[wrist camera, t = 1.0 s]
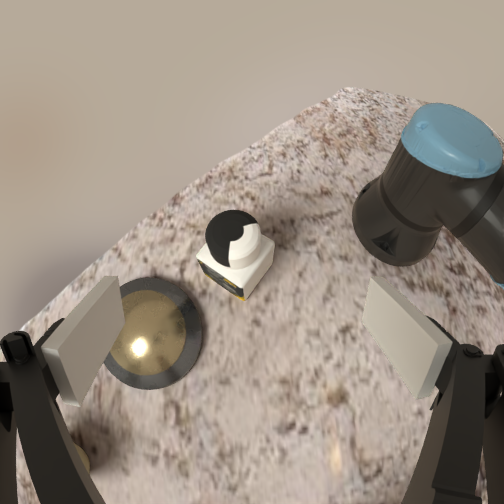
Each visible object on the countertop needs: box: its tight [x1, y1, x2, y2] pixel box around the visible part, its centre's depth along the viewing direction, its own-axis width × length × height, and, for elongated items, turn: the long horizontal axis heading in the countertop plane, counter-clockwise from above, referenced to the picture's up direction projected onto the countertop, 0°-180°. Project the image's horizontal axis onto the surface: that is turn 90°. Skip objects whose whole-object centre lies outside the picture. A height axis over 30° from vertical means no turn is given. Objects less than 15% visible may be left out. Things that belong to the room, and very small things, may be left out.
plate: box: [104, 278, 202, 390], centre depth 39 cm, size 16×16×2 cm
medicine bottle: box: [196, 210, 275, 301], centre depth 38 cm, size 7×7×12 cm
